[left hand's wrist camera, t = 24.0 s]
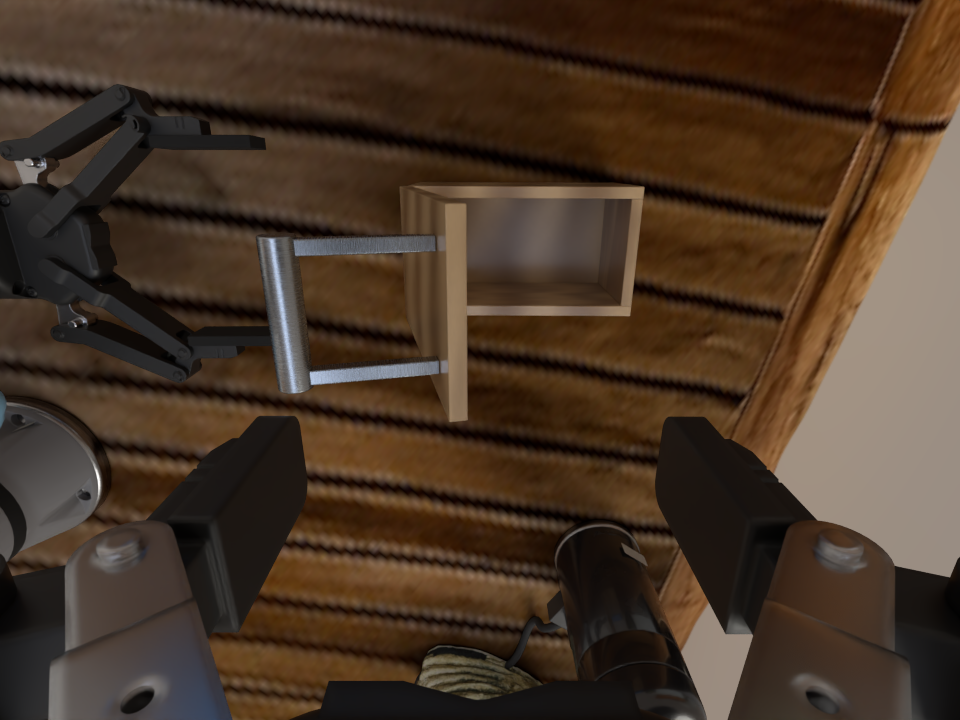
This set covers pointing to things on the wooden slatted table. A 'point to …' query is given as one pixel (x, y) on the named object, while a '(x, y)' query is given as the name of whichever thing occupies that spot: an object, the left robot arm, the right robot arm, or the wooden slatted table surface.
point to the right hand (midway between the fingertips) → (272, 245)
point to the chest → (548, 246)
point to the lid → (428, 299)
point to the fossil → (471, 673)
